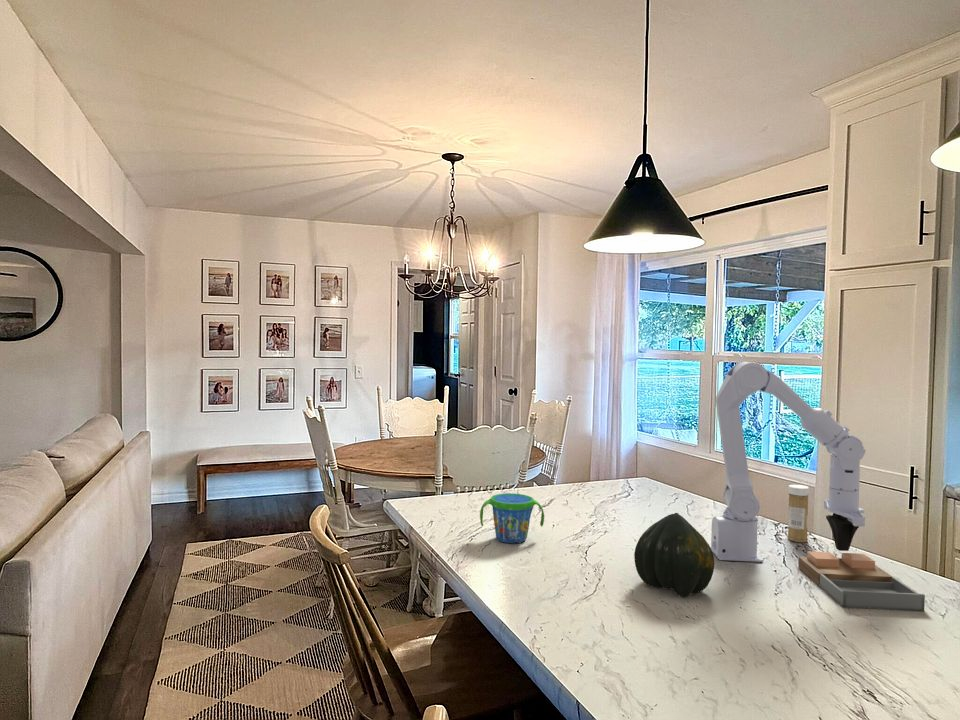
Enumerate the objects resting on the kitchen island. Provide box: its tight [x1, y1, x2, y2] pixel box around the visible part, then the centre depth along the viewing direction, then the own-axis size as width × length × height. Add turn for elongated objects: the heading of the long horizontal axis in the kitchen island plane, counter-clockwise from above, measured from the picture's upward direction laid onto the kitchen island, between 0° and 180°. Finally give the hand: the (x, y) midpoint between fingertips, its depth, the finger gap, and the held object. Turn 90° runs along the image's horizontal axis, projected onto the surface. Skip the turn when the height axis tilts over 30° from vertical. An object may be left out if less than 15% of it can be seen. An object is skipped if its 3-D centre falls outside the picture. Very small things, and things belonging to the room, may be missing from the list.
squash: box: [633, 512, 715, 598], centre depth 124 cm, size 14×15×15 cm
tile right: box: [841, 552, 876, 569], centre depth 132 cm, size 4×4×2 cm
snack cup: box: [479, 492, 545, 544], centre depth 153 cm, size 16×10×10 cm
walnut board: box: [798, 556, 893, 586], centre depth 131 cm, size 14×10×2 cm
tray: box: [819, 574, 926, 612], centre depth 120 cm, size 14×10×3 cm
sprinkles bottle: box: [787, 484, 810, 544], centre depth 155 cm, size 5×5×14 cm
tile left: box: [806, 550, 839, 567], centre depth 133 cm, size 4×4×2 cm
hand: (842, 549), depth 139 cm, fingers closed
